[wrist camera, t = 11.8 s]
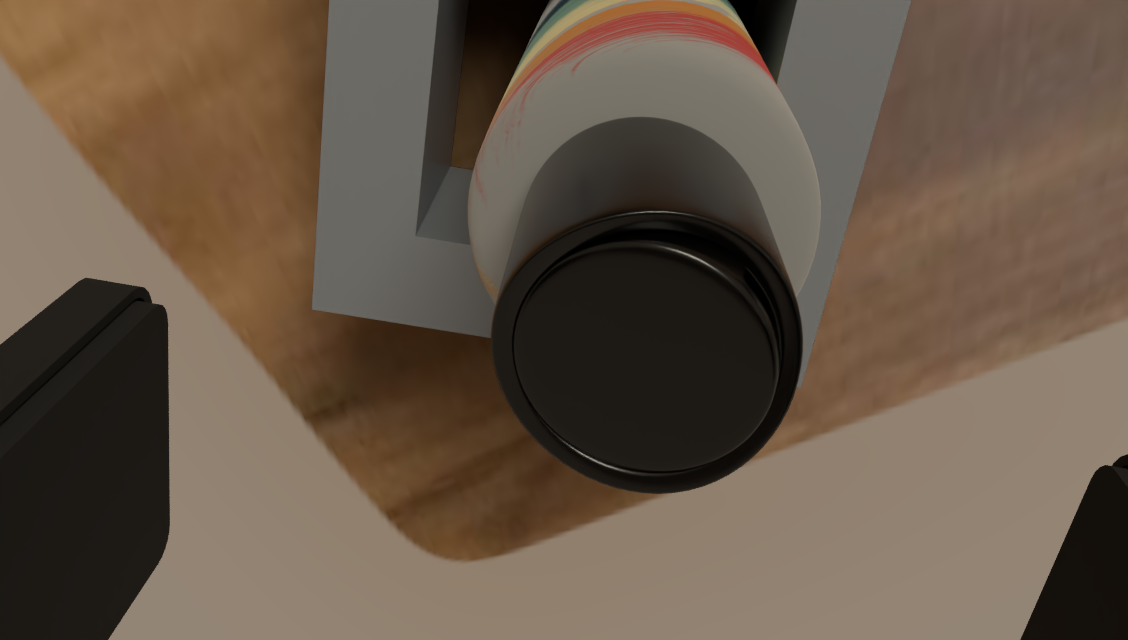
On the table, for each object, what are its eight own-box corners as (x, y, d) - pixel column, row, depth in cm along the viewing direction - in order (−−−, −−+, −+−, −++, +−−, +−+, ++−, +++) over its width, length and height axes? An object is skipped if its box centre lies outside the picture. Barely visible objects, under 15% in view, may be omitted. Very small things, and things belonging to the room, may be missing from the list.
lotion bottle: (765, 101, 31) (954, 494, 13) (584, 172, 32) (522, 623, 14) (697, -93, 29) (809, 49, 11) (506, -9, 30) (315, 247, 12)
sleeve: (888, -151, 28) (952, -144, 22) (772, 296, 33) (801, 387, 28) (398, -235, 28) (343, -248, 22) (362, 229, 33) (311, 309, 28)
